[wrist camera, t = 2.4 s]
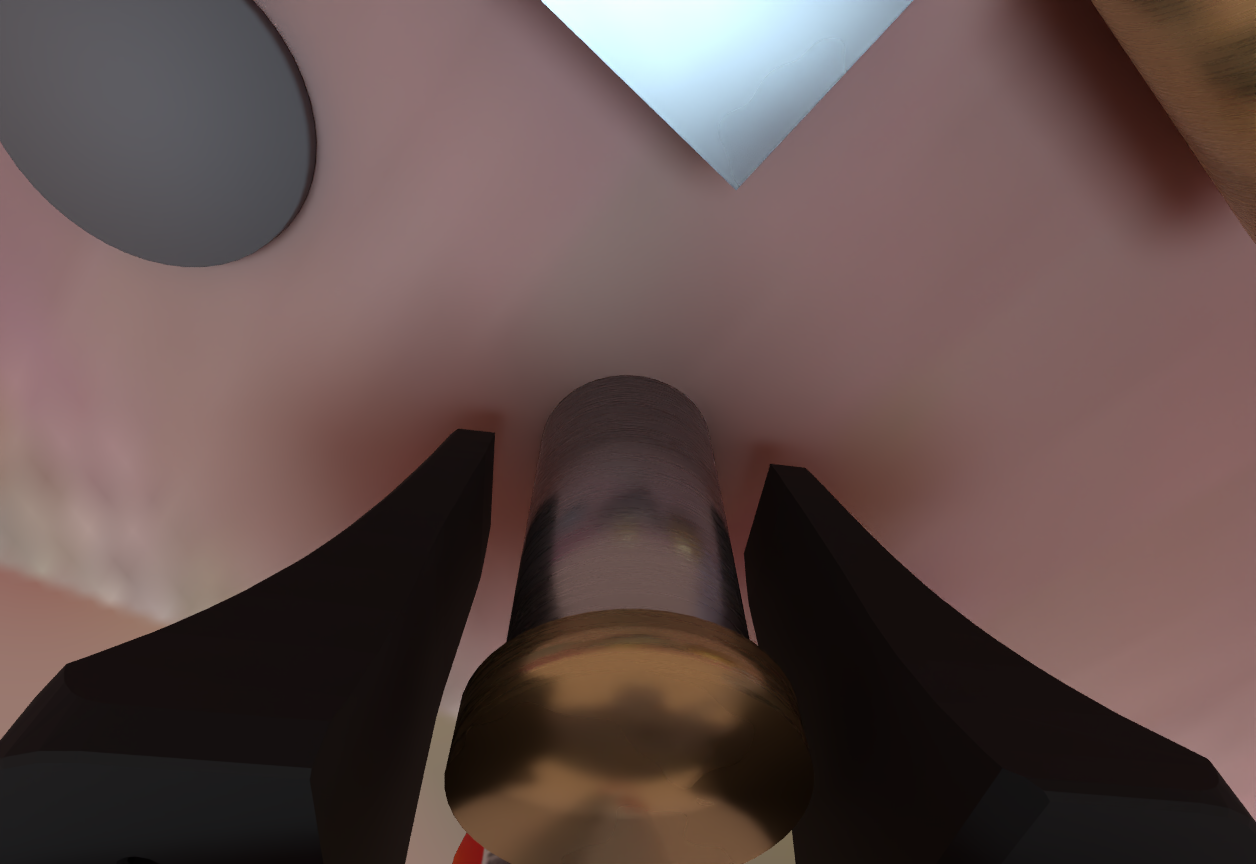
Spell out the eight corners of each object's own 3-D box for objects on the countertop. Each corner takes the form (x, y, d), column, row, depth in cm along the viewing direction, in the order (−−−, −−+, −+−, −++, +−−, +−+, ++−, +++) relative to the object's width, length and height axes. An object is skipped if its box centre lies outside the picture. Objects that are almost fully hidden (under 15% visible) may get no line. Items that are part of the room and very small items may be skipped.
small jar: (775, 442, 13) (891, 783, 8) (634, 561, 15) (642, 919, 9) (614, 311, 12) (609, 608, 6) (478, 458, 14) (373, 805, 8)
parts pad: (371, 96, 10) (363, 99, 10) (236, 311, 12) (224, 320, 12) (55, -167, 9) (32, -172, 8) (-48, 125, 10) (-71, 130, 10)
